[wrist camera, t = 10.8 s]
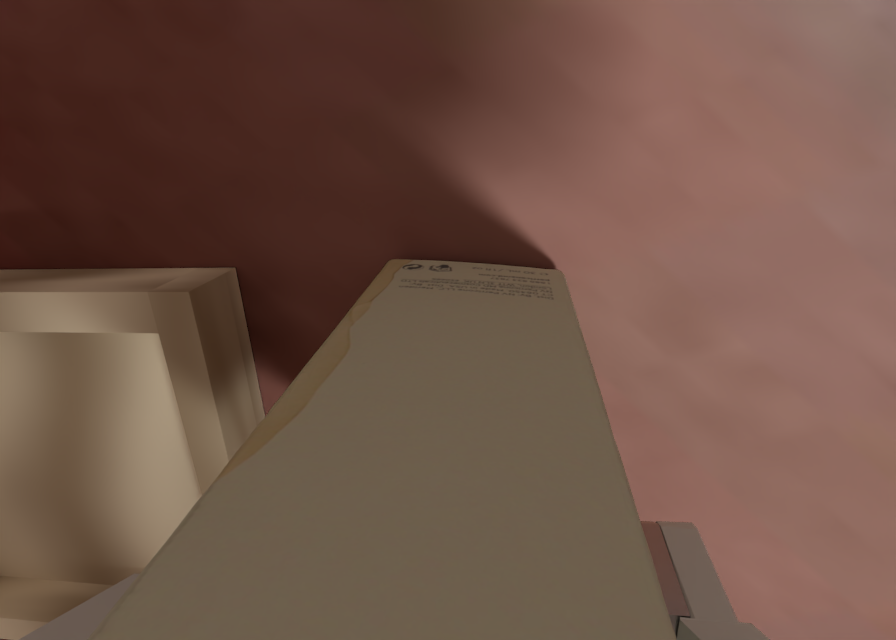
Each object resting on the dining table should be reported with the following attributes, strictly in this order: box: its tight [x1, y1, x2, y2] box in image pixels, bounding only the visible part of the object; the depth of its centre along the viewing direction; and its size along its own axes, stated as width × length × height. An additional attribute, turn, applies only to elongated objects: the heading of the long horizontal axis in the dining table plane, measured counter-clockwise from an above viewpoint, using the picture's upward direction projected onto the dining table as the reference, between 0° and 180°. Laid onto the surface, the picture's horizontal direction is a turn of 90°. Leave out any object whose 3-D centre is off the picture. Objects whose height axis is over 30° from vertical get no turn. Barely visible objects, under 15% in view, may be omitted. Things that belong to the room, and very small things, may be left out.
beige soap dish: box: [0, 268, 265, 640], centre depth 15 cm, size 12×12×2 cm
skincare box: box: [87, 259, 677, 640], centre depth 8 cm, size 6×4×12 cm
